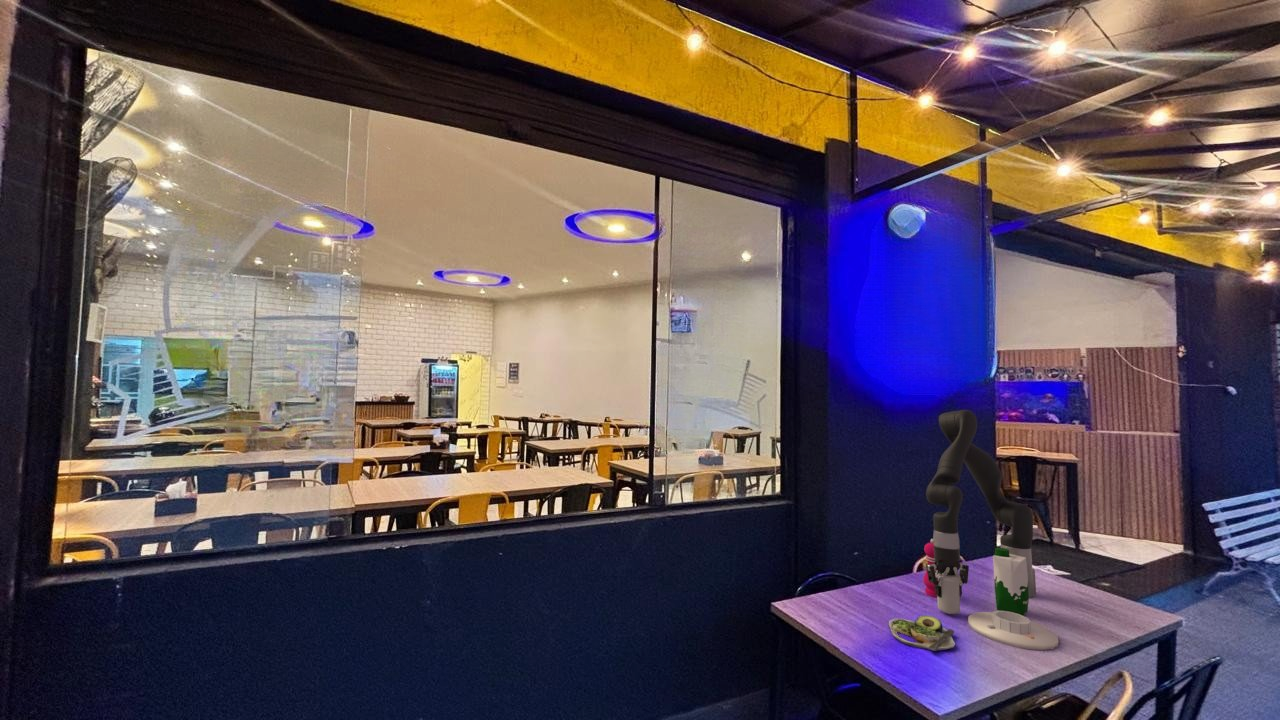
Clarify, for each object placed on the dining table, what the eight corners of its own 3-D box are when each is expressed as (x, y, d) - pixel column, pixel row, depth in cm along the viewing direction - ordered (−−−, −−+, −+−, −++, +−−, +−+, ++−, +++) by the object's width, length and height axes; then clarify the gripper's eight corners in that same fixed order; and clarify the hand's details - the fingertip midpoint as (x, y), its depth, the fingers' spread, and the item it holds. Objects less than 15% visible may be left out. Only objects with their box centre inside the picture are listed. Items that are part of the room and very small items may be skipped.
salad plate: (967, 662, 133) (966, 644, 133) (893, 649, 139) (893, 632, 140) (951, 632, 151) (951, 616, 151) (887, 621, 157) (886, 606, 158)
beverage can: (961, 610, 164) (960, 573, 165) (958, 616, 159) (956, 578, 160) (939, 605, 168) (938, 569, 169) (935, 611, 163) (934, 574, 164)
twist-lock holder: (1014, 616, 162) (1013, 602, 163) (1079, 649, 141) (1078, 632, 141) (952, 617, 160) (951, 603, 161) (1008, 651, 139) (1007, 634, 139)
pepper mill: (919, 592, 182) (917, 537, 184) (932, 589, 185) (930, 535, 187) (938, 599, 175) (936, 542, 177) (951, 596, 178) (949, 540, 180)
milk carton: (999, 603, 173) (997, 545, 175) (1031, 612, 166) (1028, 551, 168) (992, 610, 167) (990, 549, 169) (1025, 619, 160) (1022, 556, 162)
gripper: (958, 541, 170) (960, 591, 168) (919, 542, 169) (921, 592, 167) (974, 547, 162) (977, 600, 161) (934, 548, 161) (936, 601, 160)
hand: (948, 596), depth 164 cm, fingers closed on beverage can, 6 cm apart
